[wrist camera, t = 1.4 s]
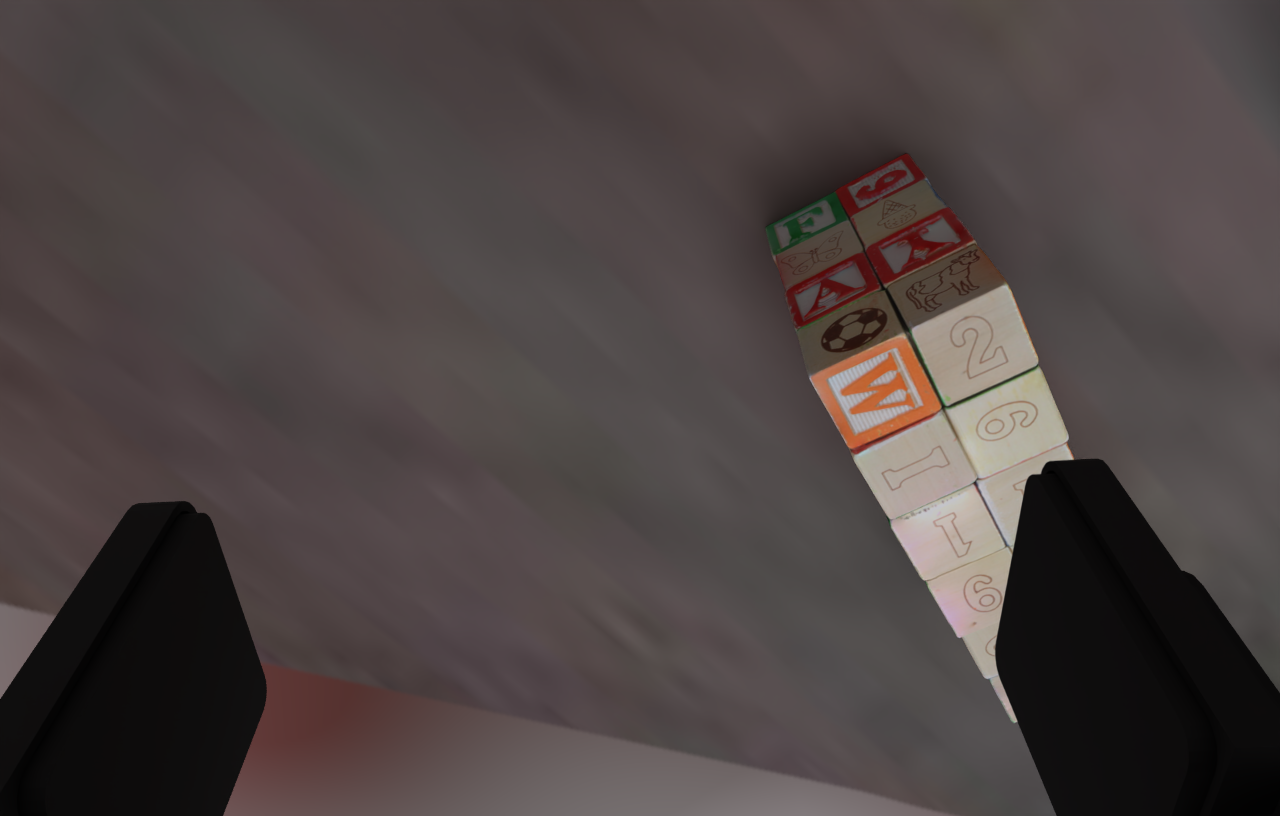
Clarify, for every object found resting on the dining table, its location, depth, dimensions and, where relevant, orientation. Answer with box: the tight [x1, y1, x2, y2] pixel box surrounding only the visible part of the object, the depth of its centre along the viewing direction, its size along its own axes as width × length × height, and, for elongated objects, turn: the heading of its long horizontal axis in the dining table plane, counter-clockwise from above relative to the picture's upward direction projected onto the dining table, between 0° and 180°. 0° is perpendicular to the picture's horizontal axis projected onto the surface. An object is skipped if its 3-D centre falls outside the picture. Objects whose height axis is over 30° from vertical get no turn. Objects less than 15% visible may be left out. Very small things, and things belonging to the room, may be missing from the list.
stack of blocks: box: [766, 154, 1074, 723], centre depth 39 cm, size 21×6×12 cm, turn 29°
